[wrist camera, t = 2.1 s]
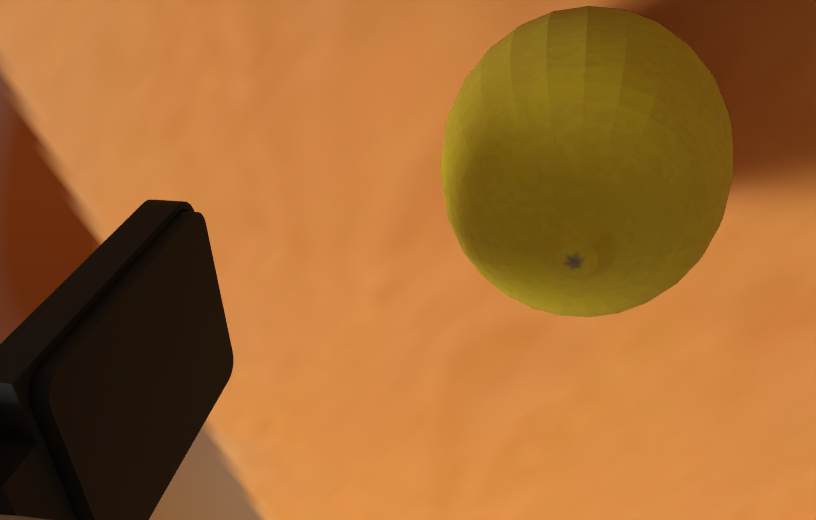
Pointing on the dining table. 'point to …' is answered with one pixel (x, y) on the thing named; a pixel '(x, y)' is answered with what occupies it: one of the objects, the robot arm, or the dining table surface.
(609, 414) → the dining table surface
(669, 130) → the lemon
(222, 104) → the dining table surface
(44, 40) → the dining table surface
